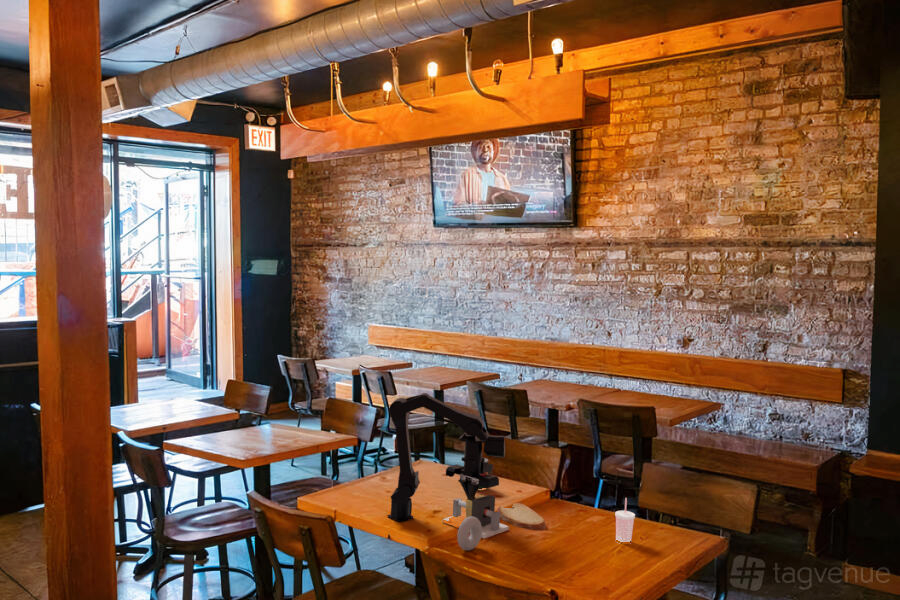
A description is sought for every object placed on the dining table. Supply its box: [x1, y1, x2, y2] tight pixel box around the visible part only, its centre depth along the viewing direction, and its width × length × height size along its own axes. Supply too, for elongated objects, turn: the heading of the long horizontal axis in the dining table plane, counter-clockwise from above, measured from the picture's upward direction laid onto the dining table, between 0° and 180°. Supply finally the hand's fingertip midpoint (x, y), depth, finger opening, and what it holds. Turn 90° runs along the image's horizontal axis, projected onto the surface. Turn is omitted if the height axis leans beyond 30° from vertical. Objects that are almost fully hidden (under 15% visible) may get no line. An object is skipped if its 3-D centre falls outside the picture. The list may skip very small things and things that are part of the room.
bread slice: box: [497, 502, 547, 531], centre depth 256 cm, size 18×18×4 cm
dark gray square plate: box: [472, 494, 496, 526], centre depth 244 cm, size 8×2×8 cm, turn 137°
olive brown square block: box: [465, 494, 485, 519], centre depth 246 cm, size 7×3×7 cm, turn 137°
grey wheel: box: [456, 516, 482, 552], centre depth 226 cm, size 10×4×10 cm, turn 141°
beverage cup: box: [614, 497, 636, 542], centre depth 239 cm, size 6×6×14 cm
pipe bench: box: [442, 497, 510, 539], centre depth 246 cm, size 12×18×7 cm, turn 47°
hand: (470, 501), depth 248 cm, fingers closed
